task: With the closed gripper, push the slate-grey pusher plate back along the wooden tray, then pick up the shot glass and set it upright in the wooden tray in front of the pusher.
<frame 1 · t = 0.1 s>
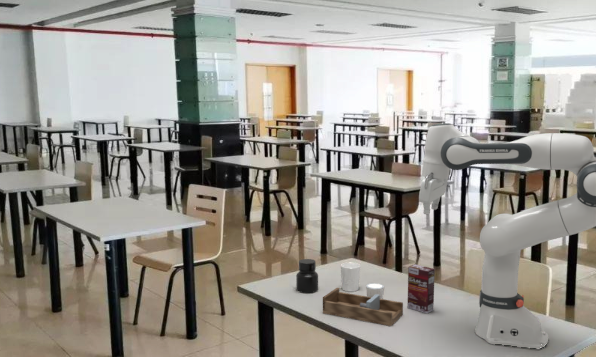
hand: (430, 211, 198), 39 cm above the table, tool pointing down, fingers open, 8 cm apart
wooden tray: (362, 313, 211), on the table
pusher: (367, 304, 209), point 4 cm above the table, slide at 0.0 cm
shot glass: (374, 304, 221), on the table
supplement box: (420, 309, 215), on the table
ink bottle: (307, 290, 238), on the table
white cup: (350, 289, 238), on the table
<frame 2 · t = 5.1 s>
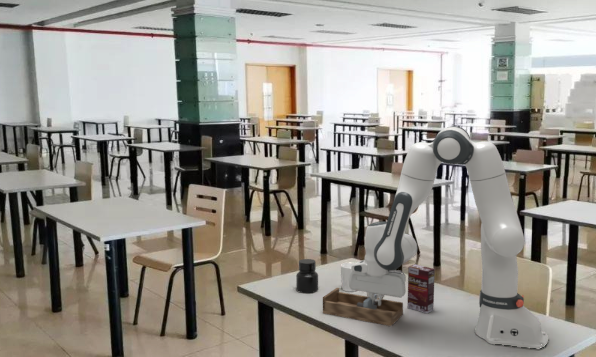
hand: (376, 305, 208), 4 cm above the table, tool pointing down, fingers closed
pusher: (365, 303, 210), point 4 cm above the table, slide at 1.1 cm, touching gripper
everything else where it was.
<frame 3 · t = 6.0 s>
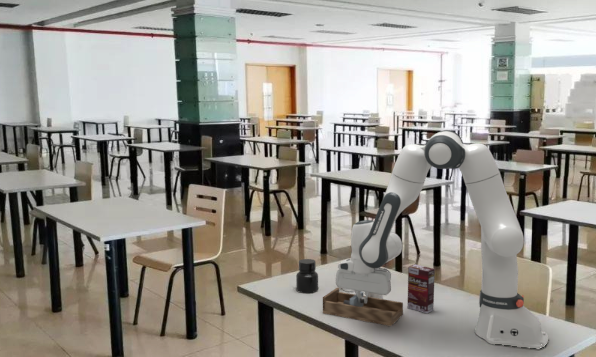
hand: (362, 302, 210), 4 cm above the table, tool pointing down, fingers closed
pusher: (351, 301, 212), point 4 cm above the table, slide at 6.3 cm, touching gripper
everything else where it was.
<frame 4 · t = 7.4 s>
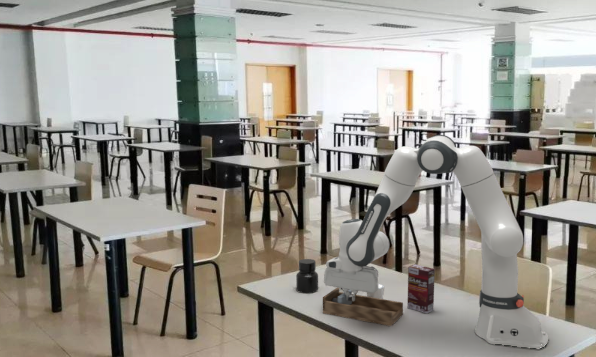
hand: (350, 300, 212), 4 cm above the table, tool pointing down, fingers closed
pusher: (339, 299, 215), point 4 cm above the table, slide at 11.0 cm, touching gripper
everything else where it was.
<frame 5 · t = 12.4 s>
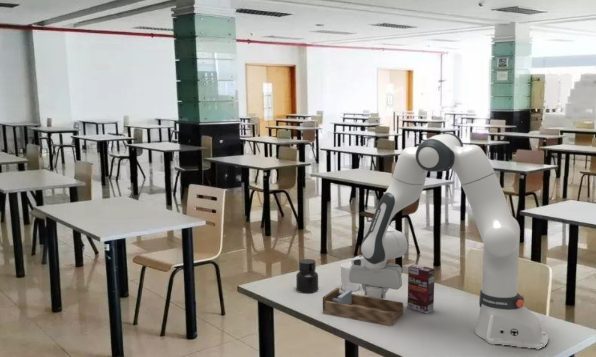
hand: (374, 296, 221), 3 cm above the table, tool pointing down, fingers closed on shot glass, 5 cm apart
pusher: (339, 299, 215), point 4 cm above the table, slide at 11.0 cm
shot glass: (374, 304, 221), on the table, touching gripper
everything else where it was.
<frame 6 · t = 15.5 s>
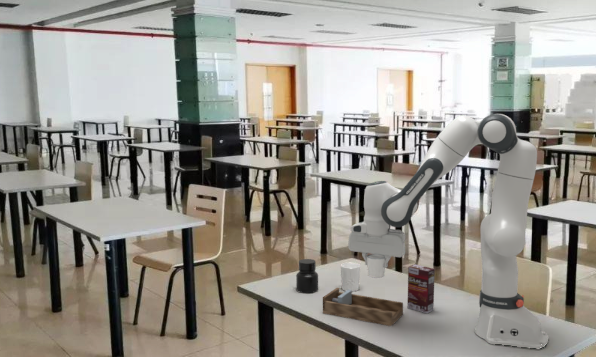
hand: (376, 266, 206), 18 cm above the table, tool pointing down, fingers closed on shot glass, 5 cm apart
shot glass: (376, 276, 206), point 15 cm above the table, touching gripper
everything else where it was.
when the fingers open (5 cm above the table, at t = 18.4 s): shot glass stays where it is, resting on wooden tray.
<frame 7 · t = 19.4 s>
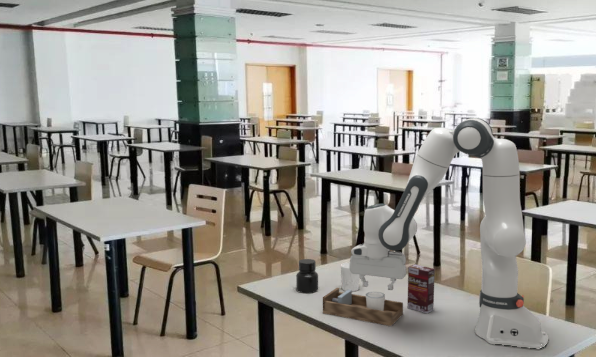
hand: (377, 288, 207), 10 cm above the table, tool pointing down, fingers open, 8 cm apart
shot glass: (375, 314, 209), point 1 cm above the table, touching wooden tray
everything else where it was.
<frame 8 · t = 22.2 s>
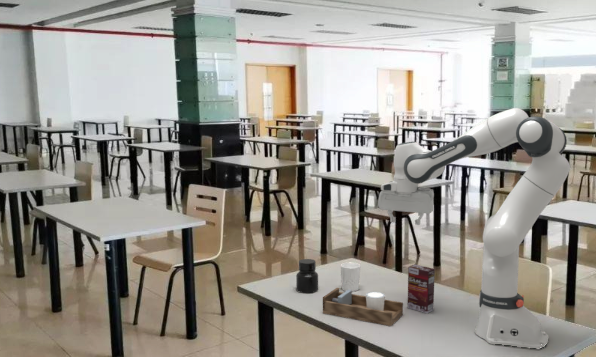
hand: (405, 223, 216), 31 cm above the table, tool pointing down, fingers open, 8 cm apart
nothing on the table moved.
at the end: shot glass inside the target area on the wooden tray (0.2 cm from its centre), point 0.8 cm above the wooden tray's base; shot glass tilted 0°; pusher slide at 11.0 cm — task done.
